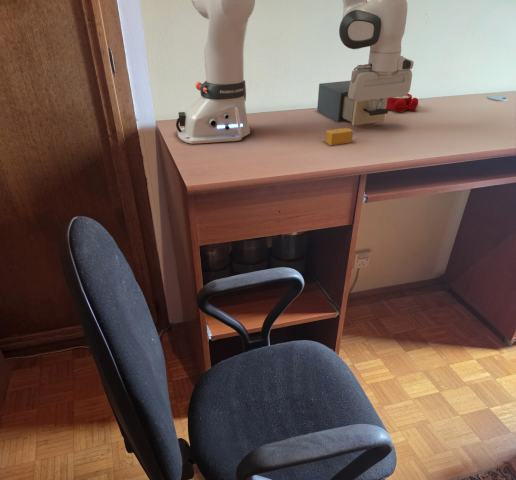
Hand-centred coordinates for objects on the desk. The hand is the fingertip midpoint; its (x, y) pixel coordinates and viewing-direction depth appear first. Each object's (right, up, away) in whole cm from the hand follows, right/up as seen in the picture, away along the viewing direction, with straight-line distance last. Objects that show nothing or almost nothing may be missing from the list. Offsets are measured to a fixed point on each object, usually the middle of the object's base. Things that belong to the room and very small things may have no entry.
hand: (375, 114), depth 140 cm
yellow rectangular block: (-13, -12, -7) cm, 19 cm away
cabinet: (-7, +8, +16) cm, 19 cm away
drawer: (-3, +2, +7) cm, 8 cm away
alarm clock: (+14, +12, +21) cm, 28 cm away
